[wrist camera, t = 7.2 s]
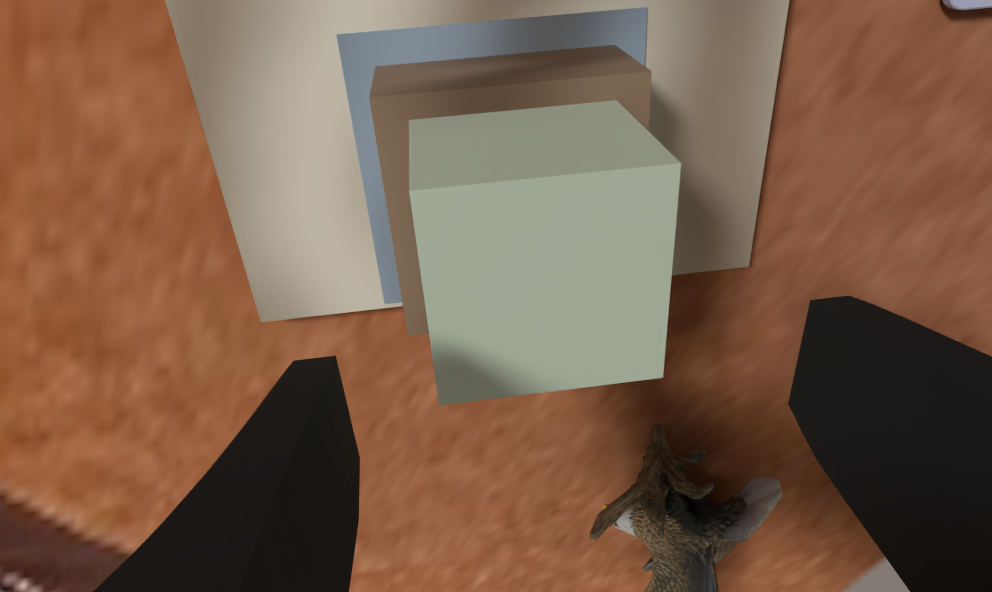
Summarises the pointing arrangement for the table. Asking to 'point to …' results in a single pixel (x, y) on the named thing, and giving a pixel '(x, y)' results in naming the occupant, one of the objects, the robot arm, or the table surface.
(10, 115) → the table surface
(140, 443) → the table surface
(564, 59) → the walnut block
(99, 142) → the table surface
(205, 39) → the build plate
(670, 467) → the eagle figurine
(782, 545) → the table surface
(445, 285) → the green block
